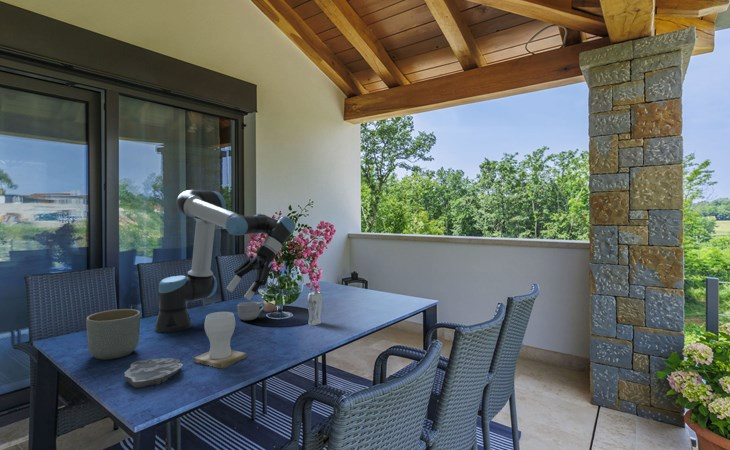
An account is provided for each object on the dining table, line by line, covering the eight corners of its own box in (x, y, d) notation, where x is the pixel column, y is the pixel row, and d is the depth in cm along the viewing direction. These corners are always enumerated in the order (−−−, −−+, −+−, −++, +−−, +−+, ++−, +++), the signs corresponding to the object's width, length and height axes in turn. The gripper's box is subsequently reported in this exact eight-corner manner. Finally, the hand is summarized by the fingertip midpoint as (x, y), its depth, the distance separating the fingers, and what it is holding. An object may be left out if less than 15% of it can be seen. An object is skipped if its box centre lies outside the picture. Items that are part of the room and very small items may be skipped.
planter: (100, 367, 134) (99, 323, 133) (78, 357, 143) (77, 316, 142) (149, 352, 148) (148, 313, 147) (126, 344, 157) (126, 306, 156)
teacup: (239, 323, 187) (239, 306, 187) (235, 317, 197) (235, 302, 197) (268, 319, 194) (268, 303, 194) (263, 314, 203) (263, 299, 203)
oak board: (193, 361, 139) (193, 357, 139) (218, 351, 150) (218, 347, 150) (222, 368, 134) (222, 364, 134) (246, 357, 145) (246, 353, 144)
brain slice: (188, 380, 125) (188, 371, 125) (126, 394, 115) (126, 385, 115) (177, 361, 141) (177, 353, 141) (122, 372, 131) (122, 363, 131)
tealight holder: (260, 310, 211) (260, 300, 210) (269, 307, 218) (269, 297, 218) (272, 312, 207) (272, 302, 207) (281, 309, 215) (281, 299, 214)
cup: (198, 358, 139) (197, 317, 138) (219, 348, 149) (219, 310, 148) (221, 362, 135) (221, 320, 135) (241, 352, 145) (241, 313, 144)
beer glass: (319, 326, 184) (319, 294, 184) (305, 325, 185) (305, 294, 185) (323, 321, 191) (323, 291, 190) (310, 320, 192) (310, 291, 192)
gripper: (292, 260, 152) (261, 307, 144) (258, 250, 169) (228, 291, 161) (280, 249, 147) (247, 297, 139) (246, 240, 164) (215, 282, 156)
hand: (237, 294), depth 150 cm, fingers open, 13 cm apart
